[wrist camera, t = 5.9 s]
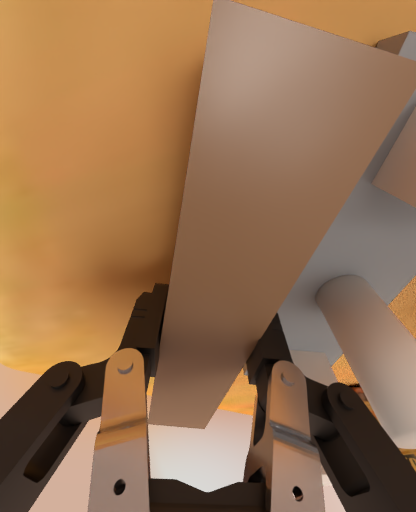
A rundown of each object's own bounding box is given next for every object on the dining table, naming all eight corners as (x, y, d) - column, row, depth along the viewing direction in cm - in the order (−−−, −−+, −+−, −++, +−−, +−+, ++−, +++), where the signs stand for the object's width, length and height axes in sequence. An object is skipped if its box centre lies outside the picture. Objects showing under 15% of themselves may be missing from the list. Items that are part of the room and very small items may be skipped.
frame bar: (325, 80, 8) (430, 65, 4) (205, 366, 19) (204, 429, 16) (212, 47, 7) (213, -6, 3) (160, 360, 19) (147, 423, 15)
